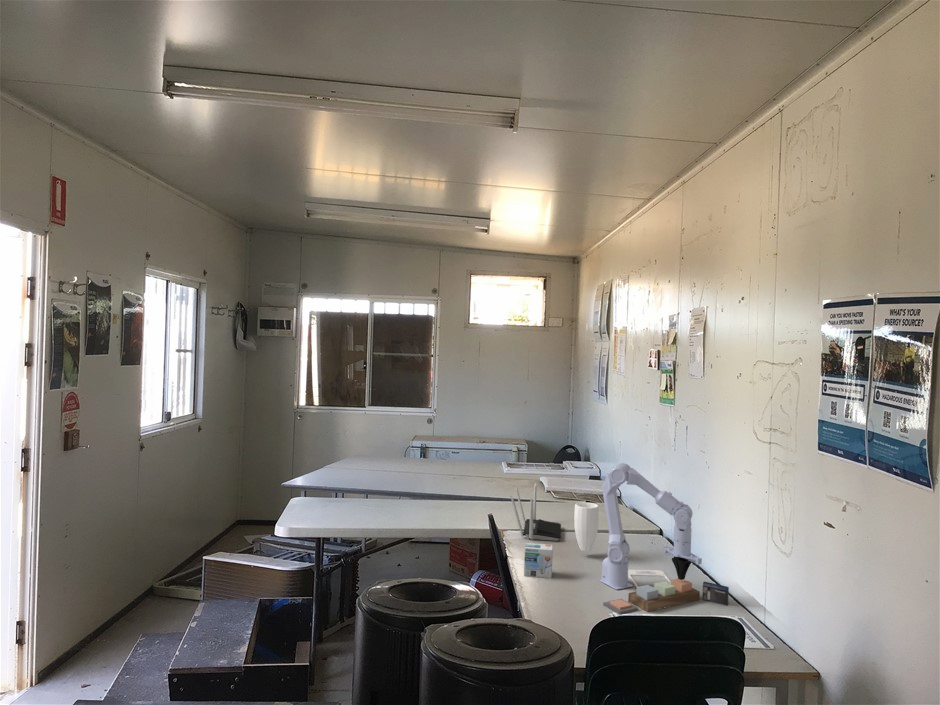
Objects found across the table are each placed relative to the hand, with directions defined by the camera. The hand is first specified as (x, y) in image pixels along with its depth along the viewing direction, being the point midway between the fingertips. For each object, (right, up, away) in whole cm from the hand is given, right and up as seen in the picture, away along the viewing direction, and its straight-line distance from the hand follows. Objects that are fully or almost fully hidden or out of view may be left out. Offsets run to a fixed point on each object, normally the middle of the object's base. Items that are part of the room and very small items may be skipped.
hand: (681, 578), depth 216 cm
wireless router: (-44, -5, +72) cm, 84 cm away
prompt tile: (-24, -6, -10) cm, 27 cm away
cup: (-26, -6, +40) cm, 49 cm away
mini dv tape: (+11, -7, -3) cm, 13 cm away
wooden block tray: (-7, -6, -4) cm, 10 cm away
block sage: (-7, -5, -4) cm, 9 cm away
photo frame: (-6, -7, +16) cm, 19 cm away
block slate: (-14, -5, -8) cm, 17 cm away
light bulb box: (-48, -5, +18) cm, 52 cm away
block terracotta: (0, -5, 0) cm, 5 cm away
